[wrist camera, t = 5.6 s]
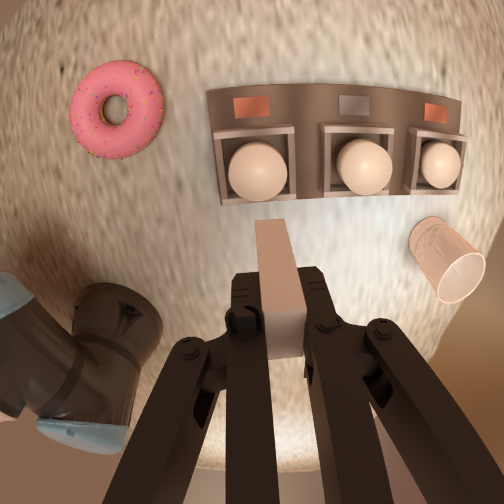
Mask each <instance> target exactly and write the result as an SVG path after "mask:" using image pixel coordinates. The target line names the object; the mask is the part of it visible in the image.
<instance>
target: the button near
mask: <svg viewBox="0 0 504 504" xmlns="http://www.w3.org/2000/svg"><path fill="white" fill-rule="evenodd" d="M228 175H229V182H230V185H231V187H232V188H233V190H234V191H235V192H236V193H237V194H238V195H239V196H241V197H242V198H244V199H247V200H250V201H265V200H268V199H271V198H273V197H274V196H276V195H277V194H278V193H279V192H280V191H281V190H282V189H283V187H284V185H285V183H286V179H287V169H286V165H285V163H284V160H283V158H282V156H281V154H280V153H279V152H278V150H277V149H276V148H274V147H273V146H271V145H269V144H267V143H263V142H251V143H247V144H245V145H243V146H241V147H240V148H239V149H237V150H236V152H235V153H234V154H233V156H232V158H231V161H230V166H229V174H228Z"/></svg>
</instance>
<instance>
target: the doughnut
mask: <svg viewBox="0 0 504 504" xmlns="http://www.w3.org/2000/svg"><path fill="white" fill-rule="evenodd" d="M112 95H118V96H121V97H122V98H123V99H122V100H124V101H125V102H126V103H127V106H126V107H128V113H127V117H126V119H125V120H124V121H123V122H122V123H120V124H118V125H111V124H109V123H108V122H107V121H106V120H105V118H104V116H103V113H102V107H103V104H104V101H105V100H106V99H107V98H108V97H109V96H112ZM69 106H70V123H71V124H70V125H71V126H70V127H72V130H73V133H74V136H75V137H76V139H77V140H78V142H79V143H80V144H81V145H82V146H83V147H84V148H85V149H86V150H87V151H89V152H88V153H92V155H94V157H95V155H96V157H97V158H98V157H99V158H100V157H102V158H107V159H120V158H122V159H123V158H126V157H129V156H132V155H134V154H136V153H138V152H139V151H141V150H142V149H143V148H145V147H147V145H148V144H150V142H151V140H152V139H153V138H154V137H155V134H156V133H157V131H158V129H159V127H160V125H161V121H162V119H163V118H162V116H163V108H164V103H163V94H162V92H161V89H160V86H159V84H158V82H157V81H156V79H155V78H154V77H153V76H152V74H151V73H150V72H149V71H148V70H147V69H146V68H144V67H143V66H141V65H139V64H136V63H133V62H132V61H112V62H111V61H110V62H108V63H105V64H103V65H101V66H99V67H97V68H95V69H94V70H93V69H92V71H91V72H88V74H87V75H86V76H85V77H84V78H83V77H82V81H81V82H80V83H79V85H78V86H77V88H76V90H75V92H74V94H73V97H72V100H71V105H69ZM122 159H121V160H122Z"/></svg>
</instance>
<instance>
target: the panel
mask: <svg viewBox="0 0 504 504" xmlns="http://www.w3.org/2000/svg"><path fill="white" fill-rule="evenodd" d="M207 99H208V108H209V117H210V125H211V133H212V141H213V149H214V157H215V165H216V172H217V180H218V187H219V195H220V202H221V205H231V204H242V203H254V202H267V201H280V200H295V199H311V198H330V197H352V196H382V195H458V191H459V186H460V181H461V175H462V169H463V162H464V156H465V148H466V140H467V137H466V136H464V135H462V134H459V128H460V116H461V101H458V100H455V99H451V98H447V97H442V96H437V95H431V94H426V93H420V92H413V91H407V90H399V89H391V88H382V87H372V86H359V85H342V84H273V85H255V86H242V87H232V88H222V89H214V90H209V91H207ZM356 139H367V140H370V141H372V142H374V143H375V144H377V145H379V146H380V147H382V148H383V149H384V150H386V152H387V153H388V154H389V156H390V158H391V161H392V175H391V178H390V180H389V182H388V183H387V185H386V186H385V187H384V188H383V189H382V190H380V191H379V192H377V193H375V194H372V195H359V194H357V193H355V192H353V191H352V190H350V189H349V187H348V186H347V185H346V184H345V183H344V181H343V180H342V179H341V178H340V176H339V174H338V171H337V158H338V155H339V153H340V151H341V149H342V148H343V147H344V146H345V145H346V144H347V143H349V142H351V141H353V140H356ZM433 140H438V141H441V142H443V143H445V144H447V145H449V146H451V147H453V148H454V149H455V150H456V151H457V152H458V154H459V157H460V162H461V166H460V172H459V175H458V177H457V179H456V180H455V181H454V183H453V184H451V185H450V186H448V187H446V188H442V189H440V188H436V187H434V186H433V185H431V184H430V183H429V182H427V181H426V180H425V179H423V178H422V177H421V175H420V174H419V171H418V168H419V159H420V150H421V149H422V147H423V146H424V145H425V144H426V143H428V142H430V141H433ZM251 142H263V143H267V144H269V145H271V146H273V147H274V148H276V149H277V150H278V152H279V153H280V154H281V156H282V158H283V160H284V163H285V165H286V169H287V179H286V183H285V185H284V187H283V189H282V190H281V191H280V192H279V193H278V194H277V195H276V196H274V197H273V198H271V199H268V200H265V201H250V200H247V199H244V198H242V197H241V196H239V195H238V194H237V193H236V192H235V191H234V190H233V188H232V187H231V185H230V182H229V175H228V174H229V166H230V161H231V158H232V156H233V154H234V153H235V152H236V150H237V149H239V148H240V147H241V146H243V145H245V144H247V143H251Z"/></svg>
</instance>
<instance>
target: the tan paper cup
mask: <svg viewBox="0 0 504 504" xmlns="http://www.w3.org/2000/svg"><path fill="white" fill-rule="evenodd" d="M409 249H410V250H411V252H412V254H413V255H414V257H415V258H416V260H417V263H418V265H419V266H420V268H421V270H422V272H423V273H424V275H425V277H426V278H427V280H428V281H429V283H430V285H431V286H432V288H433V290H434V292H435V293H436V295H437V297H438V299H439V300H440V301H441V302H443V303H445V304H452V303H456V302H458V301H460V300H462V299H464V298H465V297H467V296H468V295H469V294H470V293H471V292H472V291H473V290H474V289H475V288H476V287H477V285H478V284H479V283H480V281H481V279H482V277H483V274H484V271H485V259H484V257H483V256H482V255H481V254H480V253H479V252H478V251H477V250H476V249H475V248H474V247H473V246H472V245H471V244H470V243H469V242H468V241H467V240H465V239H464V238H463V237H462V236H461V235H460V234H459V233H458V232H456V231H455V230H454V229H453V228H451V227H450V226H448V225H447V224H446V223H445V222H444V221H442V220H441V219H439V218H437V217H428V218H426V219H424V220H422V221H420V222H419V223H418V224H417V225H416V227H415V228H414V229H413V230H412V233H411V235H410V237H409Z"/></svg>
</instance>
